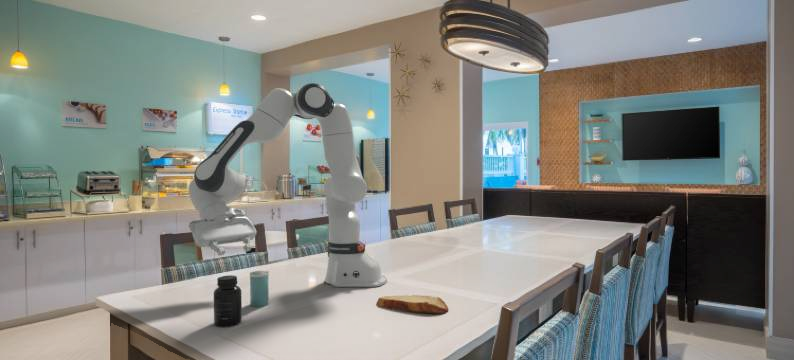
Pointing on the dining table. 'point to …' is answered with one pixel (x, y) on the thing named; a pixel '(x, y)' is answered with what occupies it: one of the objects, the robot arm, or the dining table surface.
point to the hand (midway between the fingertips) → (235, 252)
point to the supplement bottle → (227, 302)
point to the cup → (259, 288)
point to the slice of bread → (414, 304)
